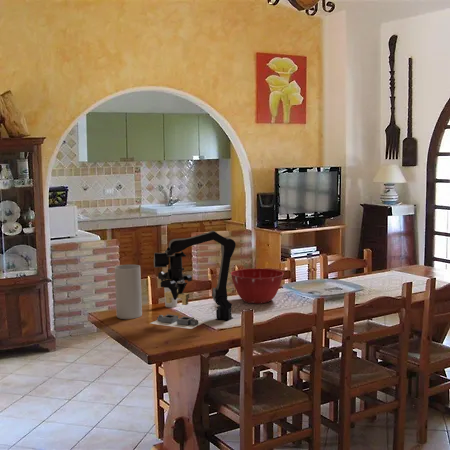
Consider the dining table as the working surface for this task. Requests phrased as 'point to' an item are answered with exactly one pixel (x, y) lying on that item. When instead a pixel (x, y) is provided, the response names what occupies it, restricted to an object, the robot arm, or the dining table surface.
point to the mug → (174, 302)
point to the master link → (180, 295)
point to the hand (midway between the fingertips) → (177, 298)
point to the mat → (176, 324)
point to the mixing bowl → (257, 284)
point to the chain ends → (178, 320)
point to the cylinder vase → (128, 291)
